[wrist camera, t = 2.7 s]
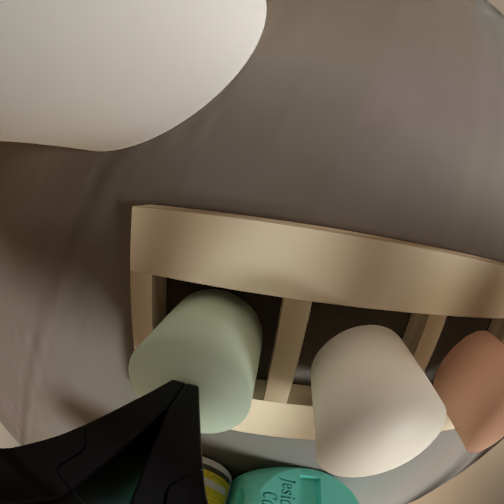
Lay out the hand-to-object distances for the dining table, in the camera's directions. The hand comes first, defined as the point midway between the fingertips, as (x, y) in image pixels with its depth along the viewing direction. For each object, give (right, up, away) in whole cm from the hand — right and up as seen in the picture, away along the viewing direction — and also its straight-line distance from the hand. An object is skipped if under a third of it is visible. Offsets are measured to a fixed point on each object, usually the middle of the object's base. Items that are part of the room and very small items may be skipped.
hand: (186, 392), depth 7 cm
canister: (-4, +15, +2) cm, 16 cm away
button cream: (+6, 0, +2) cm, 7 cm away
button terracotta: (+12, -1, +2) cm, 12 cm away
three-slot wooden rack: (+6, 0, +4) cm, 8 cm away
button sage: (0, +1, +4) cm, 4 cm away
